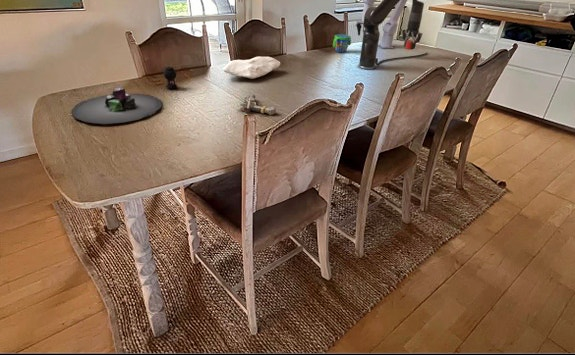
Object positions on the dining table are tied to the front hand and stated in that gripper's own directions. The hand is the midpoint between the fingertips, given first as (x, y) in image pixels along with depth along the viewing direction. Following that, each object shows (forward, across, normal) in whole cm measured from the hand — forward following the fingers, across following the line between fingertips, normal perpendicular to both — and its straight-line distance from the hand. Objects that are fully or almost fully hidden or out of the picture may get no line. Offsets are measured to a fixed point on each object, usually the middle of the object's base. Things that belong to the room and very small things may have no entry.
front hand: (409, 47), depth 237 cm
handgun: (+6, -18, +131) cm, 133 cm away
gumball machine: (+6, +25, +152) cm, 155 cm away
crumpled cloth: (+6, +23, +108) cm, 111 cm away
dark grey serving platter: (+6, +12, +181) cm, 182 cm away
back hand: (-2, +36, +5) cm, 36 cm away
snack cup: (+6, +35, +27) cm, 44 cm away
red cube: (0, 0, 0) cm, 1 cm away
